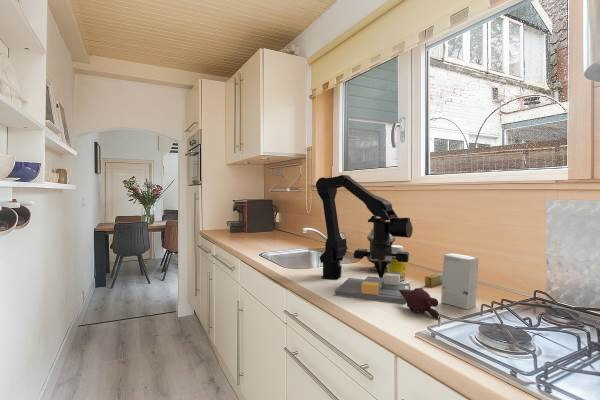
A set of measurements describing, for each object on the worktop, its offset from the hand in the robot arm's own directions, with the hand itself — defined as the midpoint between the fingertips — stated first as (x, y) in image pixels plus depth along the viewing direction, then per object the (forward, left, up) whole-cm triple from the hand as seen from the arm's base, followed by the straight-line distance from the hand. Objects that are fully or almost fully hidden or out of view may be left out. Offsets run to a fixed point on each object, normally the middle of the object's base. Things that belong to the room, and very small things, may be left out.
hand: (381, 279), depth 121 cm
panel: (-1, -7, -3) cm, 8 cm away
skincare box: (+25, -10, -3) cm, 27 cm away
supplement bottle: (+4, +13, -3) cm, 14 cm away
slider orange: (-1, -14, -1) cm, 14 cm away
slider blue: (-1, -7, -1) cm, 7 cm away
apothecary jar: (-4, +26, -3) cm, 27 cm away
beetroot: (+14, -21, -3) cm, 25 cm away
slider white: (+4, 0, -1) cm, 4 cm away
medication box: (+19, +12, -3) cm, 22 cm away
